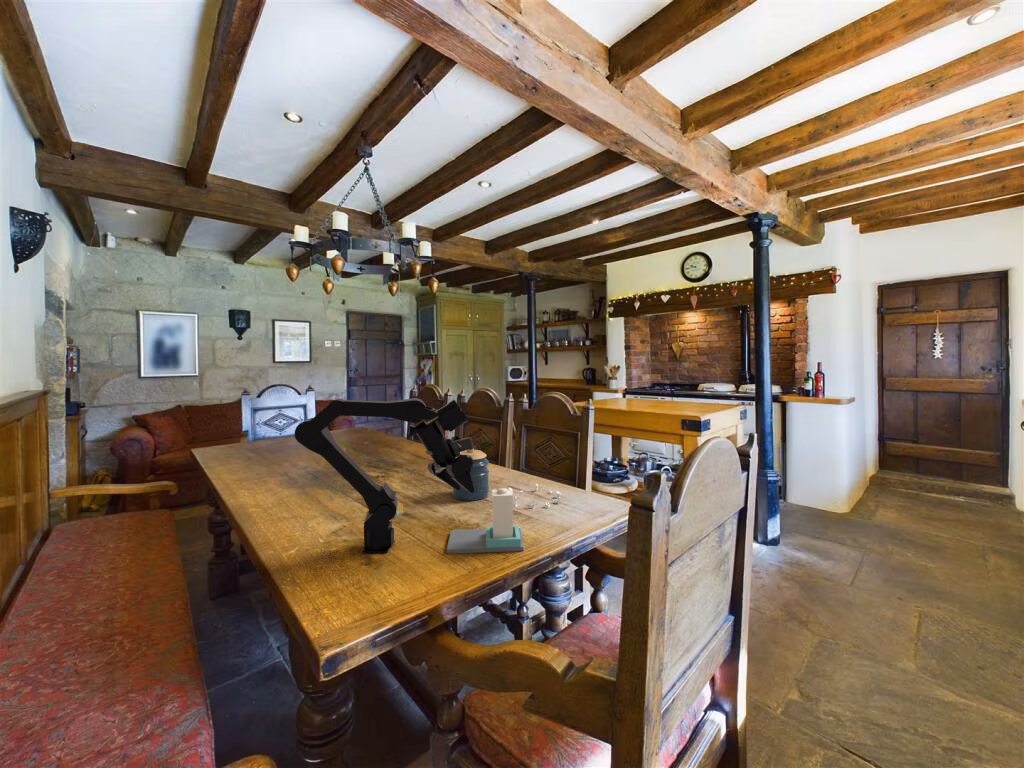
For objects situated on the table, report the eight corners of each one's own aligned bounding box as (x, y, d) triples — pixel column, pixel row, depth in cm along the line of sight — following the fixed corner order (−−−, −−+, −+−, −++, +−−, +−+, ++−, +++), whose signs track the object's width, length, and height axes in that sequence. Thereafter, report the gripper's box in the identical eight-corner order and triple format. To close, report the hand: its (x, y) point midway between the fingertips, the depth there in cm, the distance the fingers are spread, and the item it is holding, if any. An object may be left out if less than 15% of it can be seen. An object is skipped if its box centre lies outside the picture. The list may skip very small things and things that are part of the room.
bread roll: (403, 507, 139) (403, 495, 138) (403, 517, 130) (403, 504, 130) (377, 509, 137) (376, 497, 136) (374, 520, 128) (374, 507, 128)
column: (493, 544, 108) (492, 492, 107) (492, 536, 113) (492, 486, 112) (513, 543, 108) (512, 492, 107) (511, 535, 113) (511, 486, 112)
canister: (445, 498, 146) (444, 447, 145) (463, 488, 158) (462, 441, 157) (479, 503, 141) (478, 450, 140) (495, 492, 153) (494, 443, 152)
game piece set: (492, 500, 145) (492, 489, 145) (532, 488, 159) (532, 477, 159) (535, 515, 131) (535, 503, 131) (574, 499, 145) (574, 488, 145)
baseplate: (446, 553, 105) (446, 541, 105) (451, 533, 117) (451, 522, 117) (523, 551, 106) (523, 539, 106) (520, 531, 118) (520, 520, 118)
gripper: (473, 422, 106) (504, 474, 108) (446, 426, 122) (474, 471, 124) (437, 448, 101) (471, 501, 103) (414, 448, 117) (443, 495, 119)
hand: (465, 490), depth 112 cm, fingers open, 9 cm apart
